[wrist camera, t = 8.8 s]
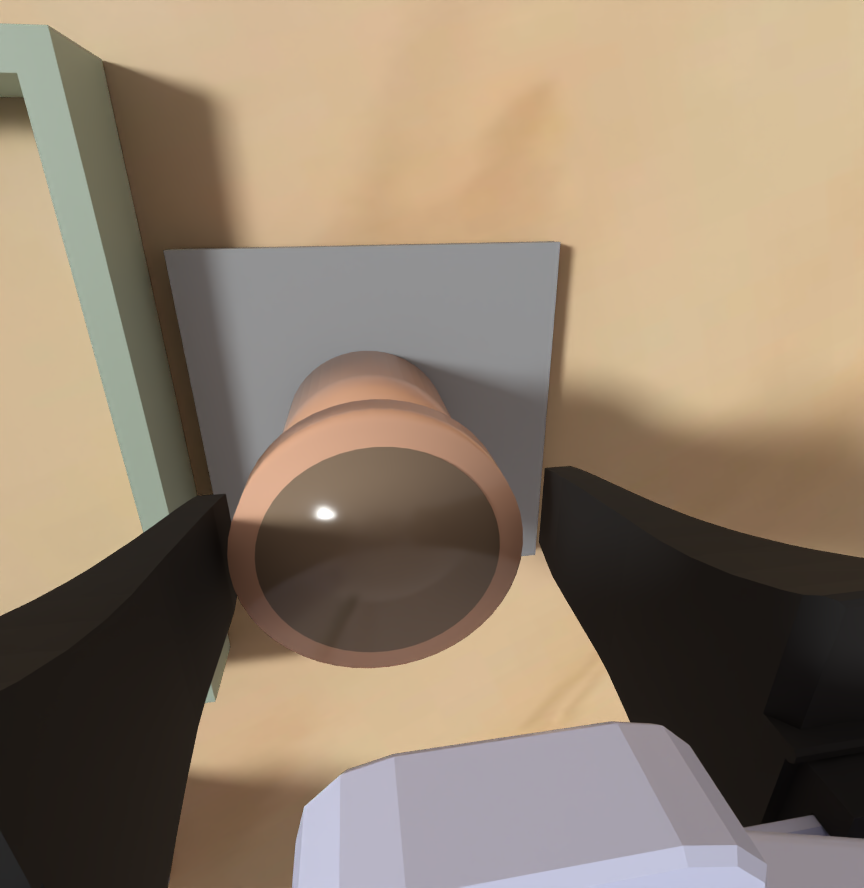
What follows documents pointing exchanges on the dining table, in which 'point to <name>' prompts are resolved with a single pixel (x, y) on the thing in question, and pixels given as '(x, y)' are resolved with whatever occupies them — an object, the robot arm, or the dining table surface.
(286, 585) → the terracotta pot
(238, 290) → the slate mat
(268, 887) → the dining table surface
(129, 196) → the frame
